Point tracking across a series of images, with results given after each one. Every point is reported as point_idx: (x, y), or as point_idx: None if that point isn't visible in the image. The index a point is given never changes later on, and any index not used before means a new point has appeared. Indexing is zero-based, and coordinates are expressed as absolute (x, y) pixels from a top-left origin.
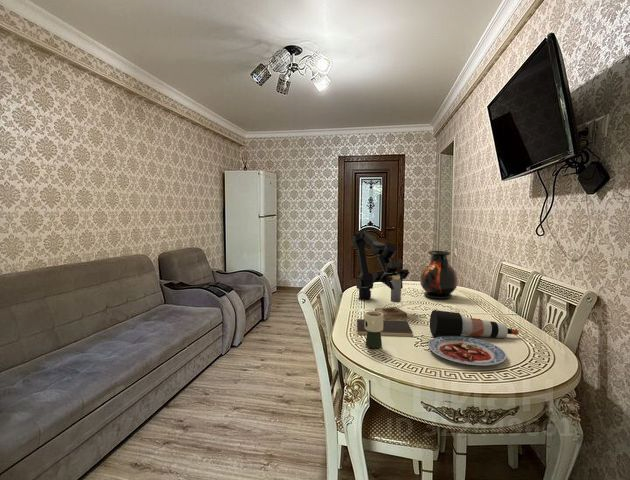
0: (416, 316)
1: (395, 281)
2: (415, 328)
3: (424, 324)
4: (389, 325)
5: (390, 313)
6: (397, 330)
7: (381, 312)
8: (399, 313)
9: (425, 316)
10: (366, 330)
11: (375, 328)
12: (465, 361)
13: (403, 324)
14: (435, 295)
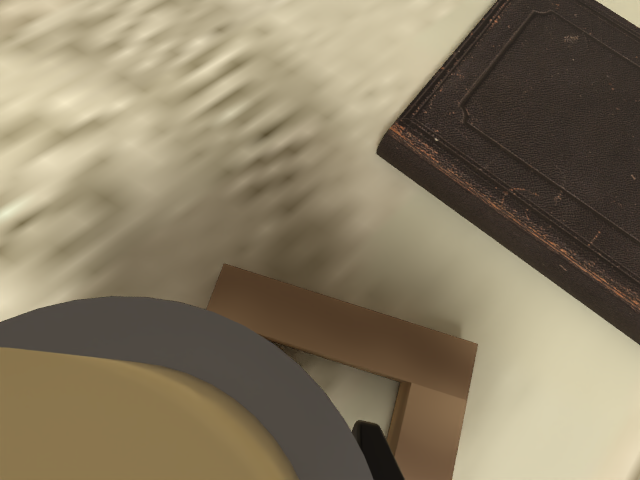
0: (128, 245)
1: (323, 401)
2: (392, 57)
3: (261, 74)
4: (598, 128)
5: (384, 360)
6: (604, 31)
7: (448, 450)
8: (298, 307)
9: (56, 199)
10: None
11: None
12: None
13: (481, 86)
14: None
